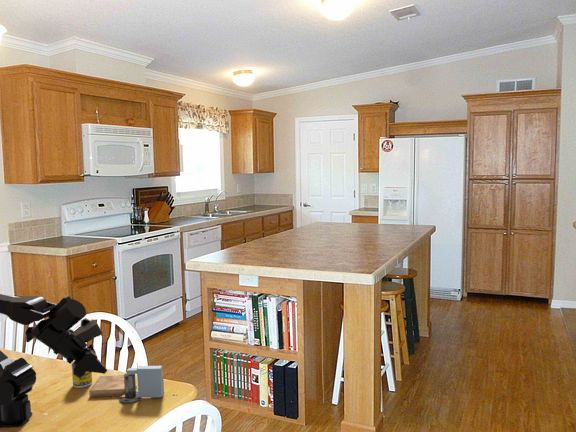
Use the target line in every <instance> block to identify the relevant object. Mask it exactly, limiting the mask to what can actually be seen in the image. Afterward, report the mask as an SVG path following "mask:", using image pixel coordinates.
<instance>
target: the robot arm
mask: <svg viewBox="0 0 576 432" xmlns="http://www.w3.org/2000/svg"><path fill="white" fill-rule="evenodd" d="M86 310H87V309H86V308H85V306H84V304H83V303H82V302H79V301H78V300H76V299H74V298H72V297H71V296H70V295H67V296H64V297H63V298H62V299H60V300H59V302H57V303H54V302H51V301H47V299H46V298H45V297H42V296H37V295H36V296H34V295H33V296H32V295H28V296H13V295H12V296H11V295H6V294H2V293H0V315H5V316H7V317H8V319H10V321H12V322H15V323H17V324H19V325H22V326H27V325H31V324H33V323H35V322H38V323H37V324H35V325H34V326H28V327H27V328H26V331H25V333H24V334H25V337H26V338H25V339H26V340H25V342H27V343H29V342H31V341H32V340H33V339H36V340H37V341H39V342H41V343H42V344H43V345H45V346H47V347H48V348H49V349H50V350H52V352H53V354H55V355H59V356H61V357H62V358H64V359H66V362H67V363H68V364H69V365H70V364H71V371H73V374H74V375H75V376H77V377H78V378H81V377H82V376H83V375H84V374H85V373H86V372H92V373H94V374H95V373H96V374H103V375H105V374H106V373H107V372H108V369H107V367H105V365H104V364H103V363H102V362H101V360H100V359H99V358H98V355H97V353H96V350H95V348H94V345H93V344H92V343H90V344H89V345H88V342H90V341H92V340H93V339H95V338H97V337H100V336H101V335H102V334H103V331H102V329H101V328H100V326H99V324H98V323H97V321H96V320H95V319H94V318H93V319H91V320H90V319H88V318H86V316H87V311H86ZM79 322H80V326H79V327H78V329H76V330H73V329H72V328H73V327H74V326H75V325H77V324H78V323H79ZM87 346H88V347H87ZM74 360H75V361H74ZM73 361H74V362H73ZM72 362H73V364H72ZM36 381H37V372H36V370H35V369H34V365H32V364H30V363H28V361H27V360H26V359H25V358H23V357H22V356H20V357H18V358H17V359H13V358H10V357H8V356H7V355H6V354H5V353H4V352H3V351H2V350H1V349H0V428H6V427H8V428H9V427H20V426H21V427H22V426H23V425H24V424H25V423H26V422H27V421H28V420H29V419H30V417H32V415H33V412H32V408H31V406H32V405H31V400H29V394H28V393H31V392H32V391H33V387H34V385H35V384H36Z"/></svg>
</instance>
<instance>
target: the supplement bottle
mask: <svg viewBox="0 0 576 432" xmlns="http://www.w3.org/2000/svg"><path fill="white" fill-rule="evenodd" d="M74 361H75V360H73V361H72V363H71V365H72V364H73V362H74ZM71 371H72V370H71ZM71 377H72V386H73V387H74V388H77V389H82V388H86V387H88V386H90V385H92V384H93V372H86V373H85V374H84V375H83V376H82V377H81V378H78V377H77V376H75V375H74V374H73V371H72V375H71Z"/></svg>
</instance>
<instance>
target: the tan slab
mask: <svg viewBox="0 0 576 432" xmlns="http://www.w3.org/2000/svg"><path fill="white" fill-rule="evenodd" d="M136 384H137V383H136V374H127V372H126V373H124V374H117V375H114V374H113V375H99V377H98V378H97V380H96V381H95V382H94V383H93V385H92V387H90V389H89V390H88V392H89V393H88V394H89V395H88V396H89V398H101V397H103V398H105V397H119V402H120V403H121V404H133V403H137V402H138V401H140V400H142V398H143V397H138V391H137V390H138V384H137V385H136Z"/></svg>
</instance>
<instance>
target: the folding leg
mask: <svg viewBox="0 0 576 432" xmlns="http://www.w3.org/2000/svg"><path fill="white" fill-rule="evenodd" d="M126 373H127V374H135V375H136V378H137V379H136V380H137V392H138V397H142V398H162V397H163V395H164V394H163V382H164V375H163V365H139V366H138V367H129V368H127V370H126Z"/></svg>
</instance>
